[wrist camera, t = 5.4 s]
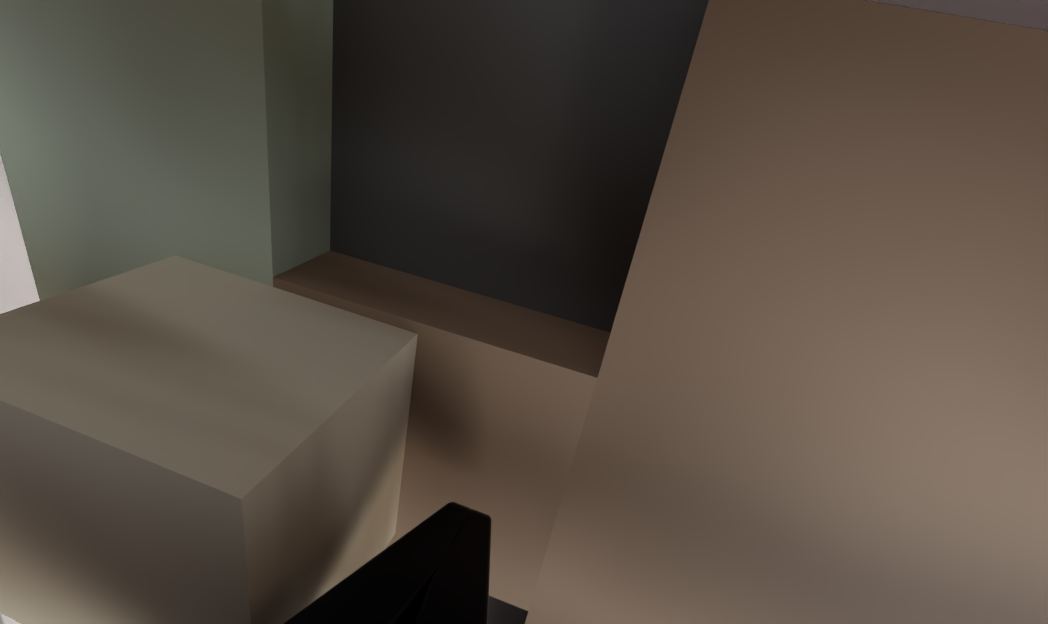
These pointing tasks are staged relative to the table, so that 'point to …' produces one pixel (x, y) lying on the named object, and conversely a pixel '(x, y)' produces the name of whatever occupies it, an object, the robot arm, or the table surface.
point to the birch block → (193, 449)
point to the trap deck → (613, 270)
